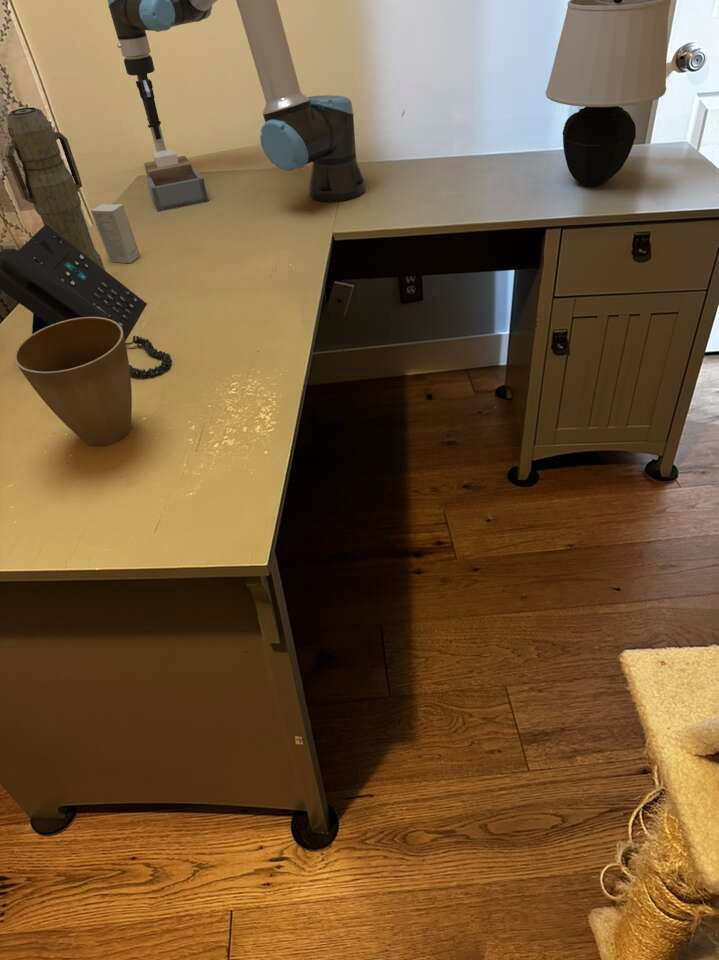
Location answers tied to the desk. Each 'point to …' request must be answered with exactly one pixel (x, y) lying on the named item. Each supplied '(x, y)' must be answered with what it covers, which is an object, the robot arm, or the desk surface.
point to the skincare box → (115, 233)
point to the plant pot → (82, 376)
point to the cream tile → (165, 158)
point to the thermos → (48, 177)
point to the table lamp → (607, 79)
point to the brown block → (169, 172)
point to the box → (178, 192)
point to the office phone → (70, 289)
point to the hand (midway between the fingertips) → (161, 150)
